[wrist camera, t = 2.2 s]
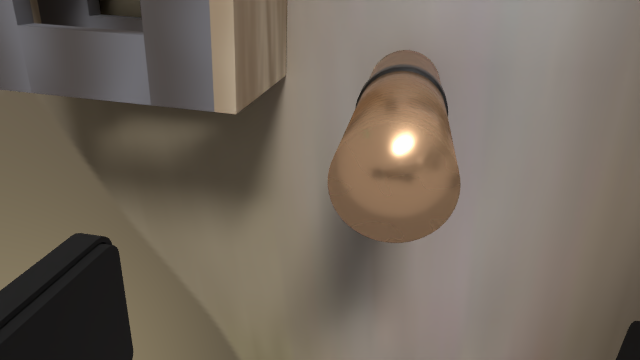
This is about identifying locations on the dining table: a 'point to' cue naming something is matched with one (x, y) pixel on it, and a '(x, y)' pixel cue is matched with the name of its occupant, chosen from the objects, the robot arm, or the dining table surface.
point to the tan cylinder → (397, 154)
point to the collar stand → (146, 51)
